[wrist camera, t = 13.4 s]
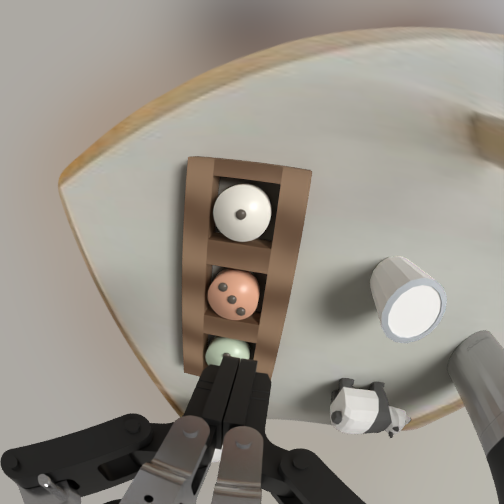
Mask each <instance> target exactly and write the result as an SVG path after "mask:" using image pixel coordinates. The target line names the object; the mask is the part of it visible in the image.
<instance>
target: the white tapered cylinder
mask: <svg viewBox="0 0 504 504" xmlns="http://www.w3.org/2000/svg"><path fill="white" fill-rule="evenodd" d="M370 289H371V292H372V296H373V299H374V302H375V306H376V309H377V312H378V316H379V319H380V323H381V327H382V329H383V331H384V333H385V335H386V336H387V337H388V338H390V339H391V340H393V341H395V342H400V343H409V342H413V341H417V340H420V339H421V338H423V337H424V336H426V335H428V334H429V333H431V332H432V330H433V329H434V328H435V327H436V326H437V325H438V324H439V323H440V321H441V319H442V317H443V315H444V313H445V310H446V302H447V297H446V293H445V290H444V287H443V286H442V285H441V284H439V283H438V282H437V281H436V280H435V279H434V278H432V277H431V276H430V275H428V274H427V273H426V272H425V271H423V270H422V269H420V268H419V267H418V266H416V265H415V264H414V263H412V262H411V261H410V260H408V259H407V258H405V257H401V256H393V257H388V258H386V259H385V260H383V261H382V262H380V263H379V264H378V265H377V267H376V268H375V269H374V270H373V273H372V276H371V278H370Z"/></svg>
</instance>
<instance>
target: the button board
mask: <svg viewBox="0 0 504 504" xmlns="http://www.w3.org/2000/svg"><path fill="white" fill-rule="evenodd" d="M220 176H223V177H232V178H240V179H248V180H256V181H263V182H270V183H277V184H281V187H280V194H279V201H278V208H277V215H276V222H275V228H274V235H273V241H269V240H263V239H257V238H256V239H254V240H251V241H246V242H239V241H234V240H232V239H229V238H228V237H226V236H225V235H224V234H222V233H218V232H215V221H214V215H213V210H214V205H215V202H216V200H217V198H218V189H219V179H220ZM311 177H312V171H311V170H306V169H300V168H294V167H288V166H281V165H274V164H267V163H259V162H251V161H242V160H233V159H223V158H212V157H199V156H194V157H188V165H187V177H186V191H185V207H184V226H183V254H182V333H183V360H184V373H188V374H192V375H196V376H201V373H202V371H203V370H204V369H205V368H206V367H208V366H209V365H208V364H207V362H206V358H205V356H206V352H207V350H208V336H209V334H211V335H216V336H221V337H226V338H231V339H236V340H241V341H247V342H252V343H256V348H255V354H254V359H253V360H256V361H258V363H257V370H256V372H259V373H266V374H268V376H269V378H270V381H271V377H272V373H273V369H274V365H275V361H276V357H277V352H278V348H279V344H280V339H281V335H282V331H283V326H284V322H285V317H286V313H287V308H288V303H289V298H290V294H291V289H292V284H293V279H294V274H295V269H296V264H297V258H298V253H299V248H300V242H301V237H302V231H303V226H304V220H305V214H306V208H307V202H308V196H309V190H310V183H311ZM212 265H217V266H222V267H228V268H234V269H240V270H246V271H252V272H258V273H264V274H267V281H266V287H265V293H264V300H263V306H262V312H255V311H254V312H253V314H252V315H250V316H249V317H247V318H245V319H242V320H229V319H226V318H223V317H221V316H220V315H218V314H217V313H216V312H215V311H214V310H213V309H212V307H211V306H210V304H209V301H208V290H209V288H210V286H211V278H212Z"/></svg>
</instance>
